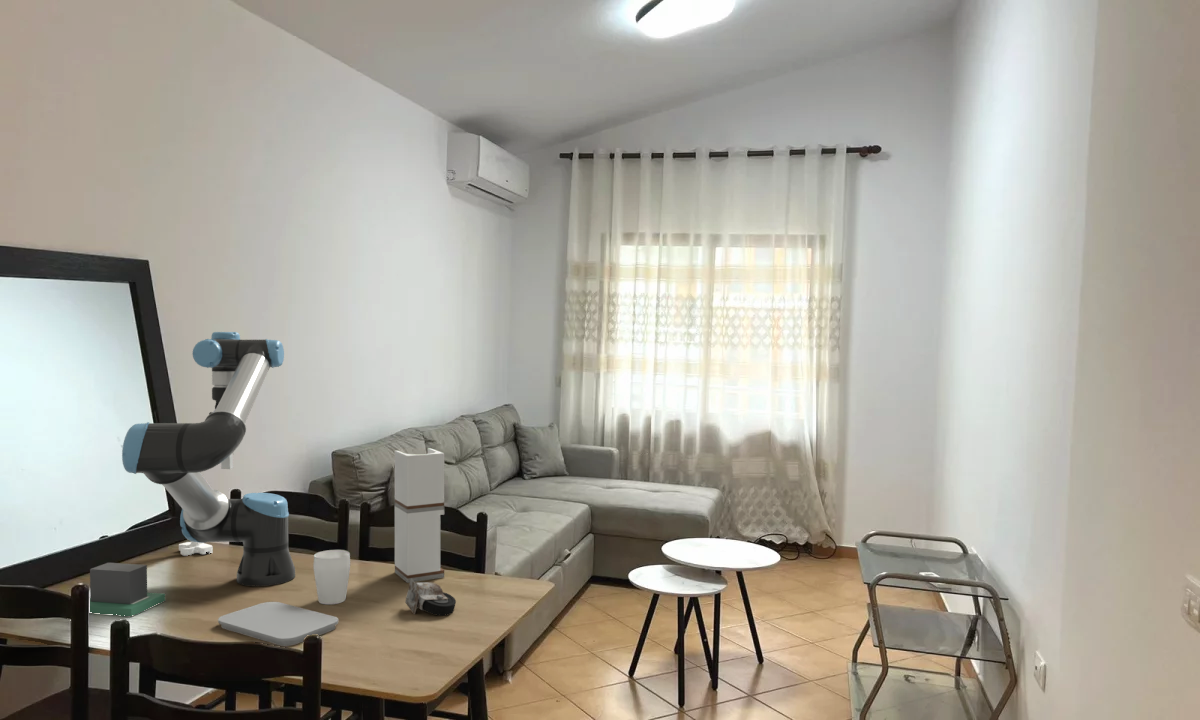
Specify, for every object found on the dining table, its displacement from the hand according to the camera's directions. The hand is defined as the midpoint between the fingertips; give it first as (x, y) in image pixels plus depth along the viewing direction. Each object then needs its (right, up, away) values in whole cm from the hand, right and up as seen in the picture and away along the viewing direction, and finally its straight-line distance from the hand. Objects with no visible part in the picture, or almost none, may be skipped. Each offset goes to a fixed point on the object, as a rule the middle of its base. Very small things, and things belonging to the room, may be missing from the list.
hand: (227, 468), depth 244 cm
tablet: (+31, -32, -44) cm, 63 cm away
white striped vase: (+55, -30, -2) cm, 63 cm away
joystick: (-19, -29, +20) cm, 40 cm away
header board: (-13, -31, -31) cm, 45 cm away
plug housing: (-13, -28, -31) cm, 44 cm away
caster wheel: (+65, -31, -32) cm, 79 cm away
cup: (+38, -31, -25) cm, 55 cm away
